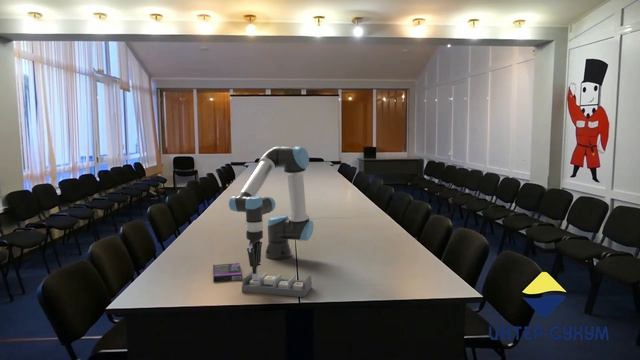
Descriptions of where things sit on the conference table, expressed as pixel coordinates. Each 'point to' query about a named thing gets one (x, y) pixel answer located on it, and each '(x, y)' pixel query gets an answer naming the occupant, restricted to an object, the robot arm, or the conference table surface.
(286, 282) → the key
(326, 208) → the conference table surface
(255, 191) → the robot arm
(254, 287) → the keypad
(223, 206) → the conference table surface
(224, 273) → the box
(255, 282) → the key
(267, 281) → the key
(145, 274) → the conference table surface
